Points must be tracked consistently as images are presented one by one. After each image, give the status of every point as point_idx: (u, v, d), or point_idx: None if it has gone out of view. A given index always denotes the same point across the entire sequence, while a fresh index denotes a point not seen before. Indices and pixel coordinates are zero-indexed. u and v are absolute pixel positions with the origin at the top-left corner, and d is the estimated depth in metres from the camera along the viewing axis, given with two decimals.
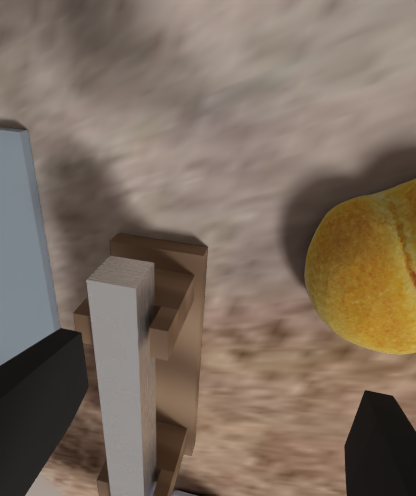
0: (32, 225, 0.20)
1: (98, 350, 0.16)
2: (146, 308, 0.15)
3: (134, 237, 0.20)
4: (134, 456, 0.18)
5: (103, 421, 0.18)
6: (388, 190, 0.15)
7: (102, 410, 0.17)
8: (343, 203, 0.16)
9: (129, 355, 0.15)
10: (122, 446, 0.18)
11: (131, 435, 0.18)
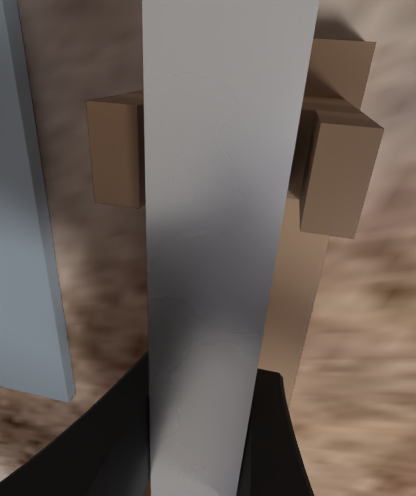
0: None
1: (158, 206, 0.05)
2: None
3: None
4: (215, 494, 0.08)
5: (152, 414, 0.08)
6: None
7: (152, 387, 0.07)
8: None
9: (253, 214, 0.05)
10: (191, 470, 0.08)
11: (216, 448, 0.08)
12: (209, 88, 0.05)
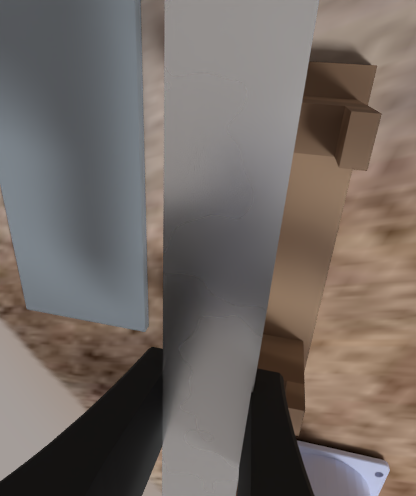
0: (131, 50, 0.15)
1: (174, 191, 0.06)
2: None
3: None
4: (223, 461, 0.09)
5: (165, 384, 0.08)
6: None
7: (165, 359, 0.08)
8: None
9: (259, 197, 0.06)
10: (200, 438, 0.09)
11: (223, 415, 0.08)
12: (221, 85, 0.05)
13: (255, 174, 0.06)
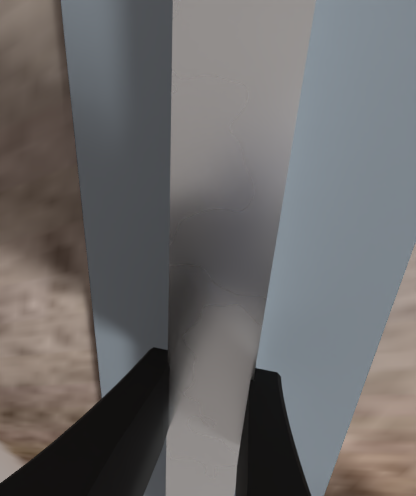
0: None
1: (180, 185, 0.07)
2: None
3: None
4: (224, 446, 0.09)
5: None
6: None
7: (170, 347, 0.08)
8: None
9: (259, 191, 0.06)
10: (203, 424, 0.09)
11: (225, 401, 0.09)
12: (225, 87, 0.06)
13: (256, 170, 0.06)
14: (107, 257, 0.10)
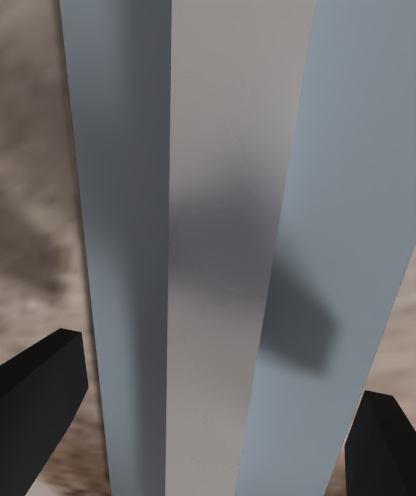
0: None
1: (179, 185, 0.06)
2: None
3: None
4: (224, 447, 0.09)
5: (169, 372, 0.09)
6: None
7: (170, 347, 0.08)
8: None
9: (259, 190, 0.06)
10: (202, 424, 0.09)
11: (225, 402, 0.09)
12: (224, 86, 0.06)
13: (255, 169, 0.06)
14: (106, 257, 0.10)
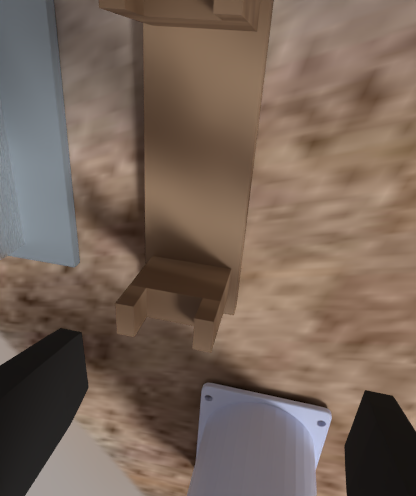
0: None
1: None
2: None
3: None
4: None
5: None
6: None
7: None
8: None
9: None
10: None
11: None
12: None
13: None
14: None
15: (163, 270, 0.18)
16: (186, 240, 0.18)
